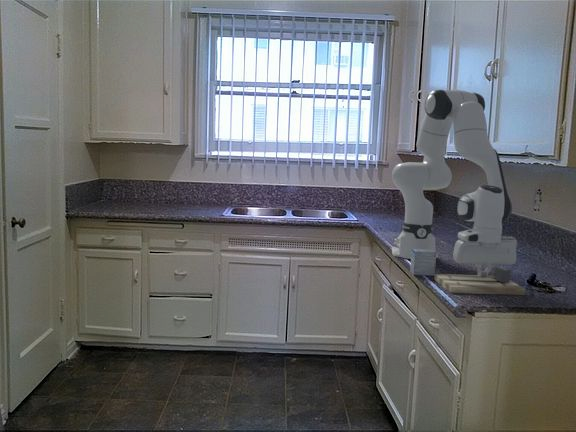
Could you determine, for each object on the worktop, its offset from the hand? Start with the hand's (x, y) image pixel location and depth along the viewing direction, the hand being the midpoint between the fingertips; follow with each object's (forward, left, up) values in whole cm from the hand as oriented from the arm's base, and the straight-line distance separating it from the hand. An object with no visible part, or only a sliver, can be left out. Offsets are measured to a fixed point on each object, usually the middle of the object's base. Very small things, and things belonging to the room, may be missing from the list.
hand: (482, 276), depth 170 cm
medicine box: (-15, -15, -4) cm, 22 cm away
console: (0, -1, -4) cm, 4 cm away
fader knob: (0, +7, -1) cm, 7 cm away
